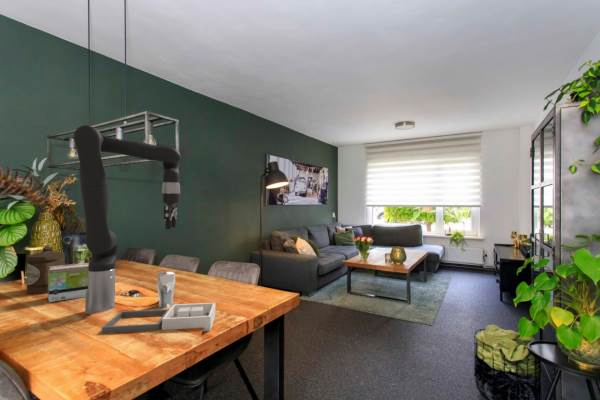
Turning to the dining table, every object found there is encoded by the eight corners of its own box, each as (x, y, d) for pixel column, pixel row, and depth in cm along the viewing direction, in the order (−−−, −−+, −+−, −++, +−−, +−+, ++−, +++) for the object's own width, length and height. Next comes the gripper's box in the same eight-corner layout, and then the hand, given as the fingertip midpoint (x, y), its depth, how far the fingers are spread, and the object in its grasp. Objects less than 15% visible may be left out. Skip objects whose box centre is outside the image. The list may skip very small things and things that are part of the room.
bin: (161, 333, 101) (162, 319, 101) (173, 317, 116) (173, 304, 116) (210, 330, 104) (210, 316, 104) (215, 315, 118) (215, 302, 118)
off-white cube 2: (190, 322, 108) (190, 311, 108) (192, 317, 112) (192, 307, 112) (201, 321, 108) (201, 310, 108) (203, 317, 112) (203, 306, 112)
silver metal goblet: (153, 310, 123) (153, 274, 123) (165, 304, 130) (166, 270, 130) (166, 312, 121) (166, 275, 121) (178, 306, 127) (179, 271, 127)
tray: (101, 337, 98) (102, 327, 98) (121, 320, 113) (121, 311, 113) (158, 334, 101) (158, 324, 101) (169, 317, 115) (170, 309, 115)
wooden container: (24, 290, 149) (25, 246, 149) (61, 284, 160) (62, 243, 161) (29, 296, 139) (29, 249, 140) (68, 289, 151) (68, 246, 151)
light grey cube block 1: (177, 322, 107) (177, 311, 107) (179, 318, 111) (179, 307, 111) (188, 322, 108) (188, 311, 108) (190, 317, 112) (191, 307, 112)
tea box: (48, 303, 130) (49, 269, 130) (47, 297, 138) (48, 266, 138) (90, 296, 140) (90, 265, 140) (87, 291, 148) (87, 261, 148)
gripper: (166, 193, 142) (166, 226, 142) (157, 192, 128) (157, 229, 128) (183, 193, 143) (183, 226, 143) (175, 192, 129) (175, 229, 129)
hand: (170, 228), depth 135 cm, fingers open, 8 cm apart
